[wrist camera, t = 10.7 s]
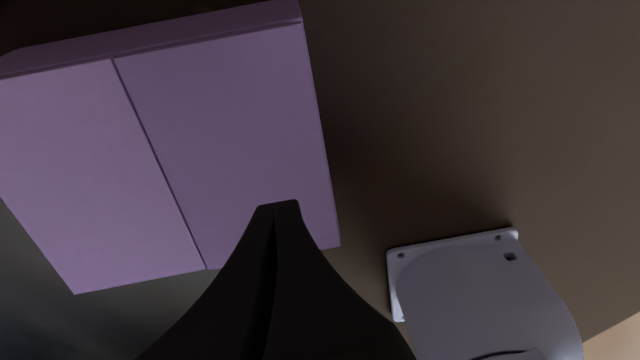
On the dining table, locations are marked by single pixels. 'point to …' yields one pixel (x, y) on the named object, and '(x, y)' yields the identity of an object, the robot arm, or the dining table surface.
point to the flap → (89, 179)
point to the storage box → (220, 114)
